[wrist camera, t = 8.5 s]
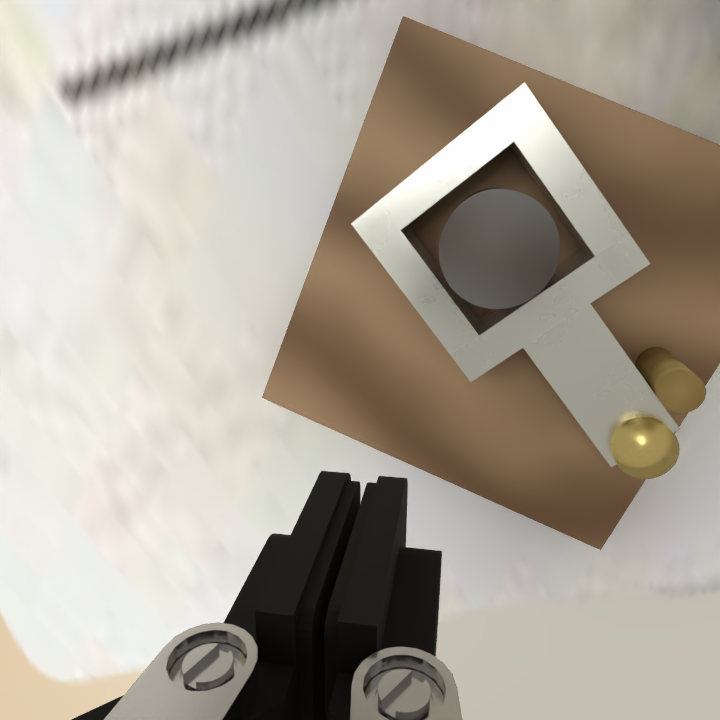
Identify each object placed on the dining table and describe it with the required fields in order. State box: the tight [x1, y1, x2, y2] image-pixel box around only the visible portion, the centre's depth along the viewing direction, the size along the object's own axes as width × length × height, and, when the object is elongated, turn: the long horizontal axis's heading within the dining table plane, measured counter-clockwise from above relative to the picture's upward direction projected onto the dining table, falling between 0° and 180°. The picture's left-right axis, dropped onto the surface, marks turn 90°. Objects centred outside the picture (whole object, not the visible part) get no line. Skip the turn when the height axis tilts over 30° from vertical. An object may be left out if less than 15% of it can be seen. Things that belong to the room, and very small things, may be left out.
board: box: [262, 16, 720, 550], centre depth 25 cm, size 18×18×8 cm
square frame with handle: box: [351, 83, 680, 479], centre depth 25 cm, size 15×8×4 cm, turn 38°
